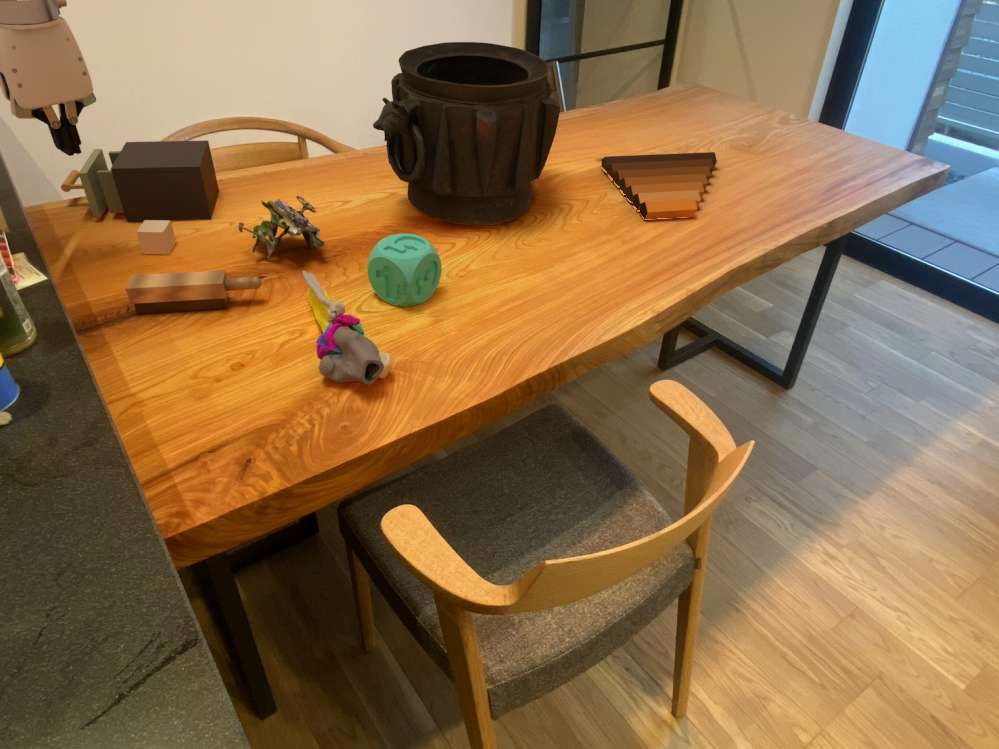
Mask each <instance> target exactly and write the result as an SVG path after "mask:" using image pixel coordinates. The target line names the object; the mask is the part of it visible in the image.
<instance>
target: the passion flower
mask: <svg viewBox="0 0 999 749" xmlns="http://www.w3.org/2000/svg"><path fill="white" fill-rule="evenodd" d="M296 199H297V200H298V202H299V203H300V204H301V205H302V208H301V210H296V209H295V208H293V207H292V206H291V205H289V204H288V202H284V201H282V200H280V199H279V198H277V199H276V200H274V201H273V200H268V201H267V202H265V200H264V198H263V197H262V198H261V199H260V201H261V205H262V206H263V207H264V208H265V209H267V210H268V211H269V213H270V220H262V221H261V223H260V225H255V226H254V227H253V230H251V229H248V228H246V227H244V226H245V223H244V222H242V221H240V222H238V231H239V232H240V233H243V230H244V231H247V232H249V233H251V234H252V236H251V238H252V239H256V240H255V243H254V244H253V246H252V254H253V253H255V251H256V249H257V247H258V246H259V245H260V243H261V242H262V241H265V242H266V249H267V257H266V259H265V261H266V262H268V261H269V260H270V257H271V255H272V254H273V253H274V252H275V251H276V250H277V249H278V247H279V243H280V241H281V240H282V238H283V237H284V236H285V235H287V234H288V235H289V236H290V237H292V238H293V237H294V236H295V237H296V236H300V235H302V237H303V239H304V241H305V244H306V245H307V246H308V248H310V249H312V250H315V251H318V250H319V248H318V247H323V246H324V245H325V243H326V242H325V241H323V240H322V239H320V235H321V229H320V228H318V227H316V226H314V224H312V223H311V222H310V220H309V218H308V217H306V216H305V215H304V212H306V211H310V212H311V213H314V214H315V213H318V211H317V210H316V208H315V207H314V206H313V205H312V204H311V202H309V201H307V200H306V199H305V198H303V197H302V196H300V195H296ZM278 228H280V229H282V230H283V231H282V232H281V233H280V235H278V236H277V233H278V230H279V229H278ZM276 236H277V237H276ZM266 237H268V239H267V238H266ZM269 239H270V240H269ZM317 246H318V247H317Z"/></svg>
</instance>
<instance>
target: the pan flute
mask: <svg viewBox="0 0 999 749" xmlns="http://www.w3.org/2000/svg"><path fill="white" fill-rule="evenodd" d="M717 162H718V160H717V156H716V152H715V151H710V152H709V151H708V152H707V151H705V152H685V153H684V152H683V153H660V154H659V153H658V154H638V155H637V154H636V155H635V154H633V155H613V156H612V155H611V156H604V157H603V158H601V164H600V166H602V167H603V168H604V169H605V170H606V171H607V173H608V174H609V175H610V176H611V177H612V178H613V180H614V181H615V183H616V184H617V185H618V186H620V189H621V190H622V191H623V193H624V194H626V196H627V198H628V199H629V200H630V201H631V202H633V204H632V206H633V205H634V206H635V207H636V208H637V210H640V212H639V214H640V213H641V215H642V216H643V217H644V219H657V218H677V217H678V218H679V217H693V218H694V217H695V215H696V213H697V212H698V207H699V206H700V203H701V202H702V198H703V196H704V194H705V191H706V188H707V186H708V184H709V181H710V179H711V177H712V174H713V172H714V170H715V166H716V164H717ZM704 190H705V191H704ZM626 196H625V197H626Z"/></svg>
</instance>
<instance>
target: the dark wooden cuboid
mask: <svg viewBox="0 0 999 749" xmlns="http://www.w3.org/2000/svg"><path fill="white" fill-rule="evenodd" d="M120 151H121V152H120V153H119V155H118V157H117V159H116V160H115V162H114V164H113V166H112V165H111V168H110V170H111V171H112V174H113V178H114V181H115V184H116V187H117V190H118V193H119V197H120V200H121V203H122V206H123V209H124V213H123V214H124V215H125V216H124V217H125V219H126V221H127V223H143V222H144V220H169V221H171V222H178V221H204V220H207V221H208V220H212V219H213V215H214V211H215V208H216V204H217V200H218V197H219V192H220V189H219V183H218V179H217V175H216V170H215V165H214V160H213V157H212V156H213V155H212V151H211V146H210V142H209V140H163V141H161V140H159V141H125V143H124V145H123V146H122V148H121V149H120Z"/></svg>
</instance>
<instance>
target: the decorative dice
mask: <svg viewBox="0 0 999 749" xmlns="http://www.w3.org/2000/svg"><path fill="white" fill-rule="evenodd" d="M442 267H443V266H442V260H441V257H440V255H439V253H438V251H437V249H436V248H435V246H434V245H433V244H432V243H431V242H430V241H429V240H427V239H426V238H424V237H423V236H421V235H418V234H413V233H395V234H391V235H388V236H385V237H382V239H380V240H379V241H378V242H377V243H376V244H375V245H374V247H373V248H372V250H371V252H370V255H369V257H368V261H367V267H366V268H367V270H366V272H367V279H368V282H369V285H370V286H371V288H372V289H373V291H374V292H375V293H376V295H377V296H378V297H379V298H381V300H382V301H384V302H386V303H388V304H390V305H392V306H396V307H413V306H417V305H420V304H423V303H425V302H426V301H428V300H429V299H430V298H431V297H432V295H433V294H434V293H435V291H436V290H437V287H438V286H439V284H440V280H441V276H442Z"/></svg>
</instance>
